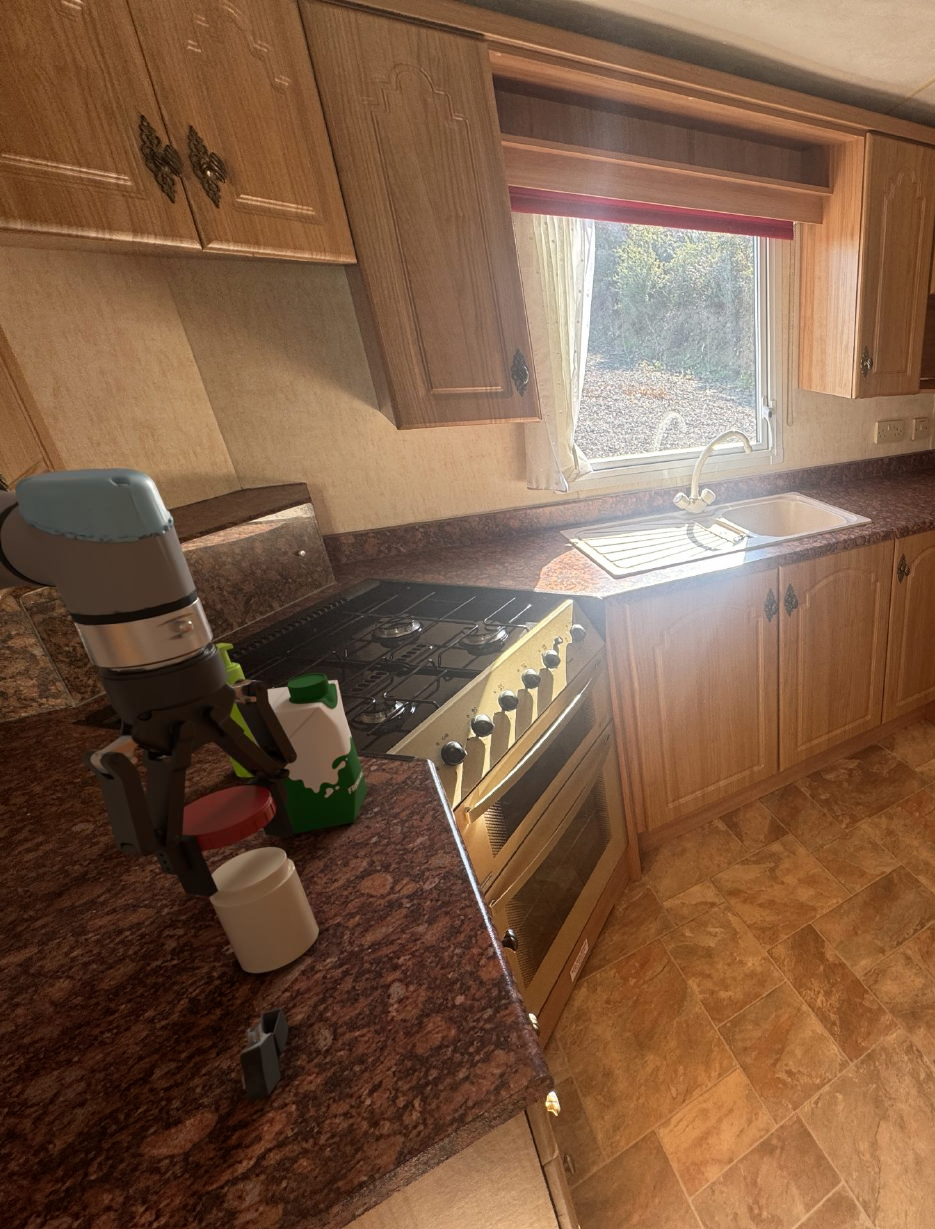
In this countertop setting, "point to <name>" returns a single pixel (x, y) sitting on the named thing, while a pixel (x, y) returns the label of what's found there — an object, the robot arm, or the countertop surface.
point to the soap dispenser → (233, 676)
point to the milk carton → (318, 754)
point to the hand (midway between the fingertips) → (243, 860)
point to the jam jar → (263, 909)
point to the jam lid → (228, 816)
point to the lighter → (263, 1054)
